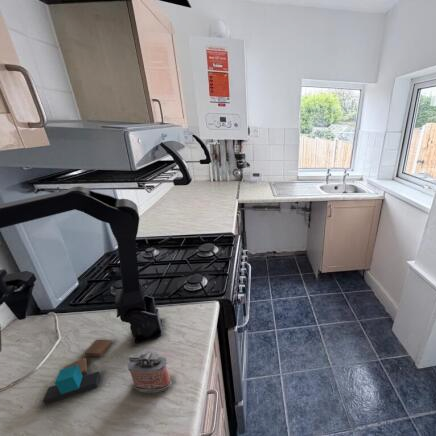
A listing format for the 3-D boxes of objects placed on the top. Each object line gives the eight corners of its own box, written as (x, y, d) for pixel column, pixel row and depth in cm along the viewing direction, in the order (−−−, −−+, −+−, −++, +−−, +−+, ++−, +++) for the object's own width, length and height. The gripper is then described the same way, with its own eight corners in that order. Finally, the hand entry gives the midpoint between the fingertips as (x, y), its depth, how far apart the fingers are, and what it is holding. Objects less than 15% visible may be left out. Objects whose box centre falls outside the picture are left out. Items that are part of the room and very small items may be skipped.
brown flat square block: (112, 343, 64) (110, 339, 63) (101, 356, 60) (99, 353, 60) (97, 342, 64) (95, 339, 63) (85, 356, 60) (84, 353, 60)
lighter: (174, 377, 56) (167, 348, 52) (167, 392, 53) (159, 362, 49) (139, 377, 56) (130, 348, 52) (131, 392, 53) (120, 362, 49)
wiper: (100, 375, 56) (94, 359, 54) (97, 387, 53) (90, 371, 51) (51, 391, 52) (42, 375, 50) (45, 405, 50) (35, 388, 48)
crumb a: (87, 360, 59) (85, 357, 58) (87, 373, 56) (85, 370, 56) (65, 370, 57) (64, 367, 56) (64, 383, 54) (62, 380, 53)
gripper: (-50, 258, 49) (-13, 314, 55) (-156, 326, 33) (-88, 394, 39) (23, 248, 53) (49, 301, 59) (-41, 303, 37) (4, 368, 43)
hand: (11, 334), depth 50 cm, fingers open, 9 cm apart
